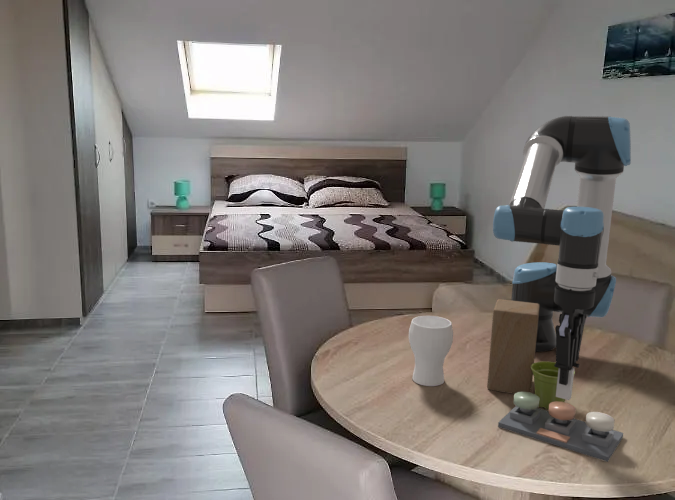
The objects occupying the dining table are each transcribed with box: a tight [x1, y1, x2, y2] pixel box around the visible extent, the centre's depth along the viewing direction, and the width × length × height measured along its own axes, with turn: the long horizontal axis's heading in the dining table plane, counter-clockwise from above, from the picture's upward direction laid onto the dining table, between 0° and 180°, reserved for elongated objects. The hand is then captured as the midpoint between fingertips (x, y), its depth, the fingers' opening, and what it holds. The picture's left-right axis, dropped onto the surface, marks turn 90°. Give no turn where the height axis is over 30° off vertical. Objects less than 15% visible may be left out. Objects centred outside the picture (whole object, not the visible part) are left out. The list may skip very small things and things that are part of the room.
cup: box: [408, 315, 454, 387], centre depth 155 cm, size 11×11×15 cm
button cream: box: [585, 411, 615, 435], centre depth 127 cm, size 5×5×3 cm
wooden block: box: [486, 298, 539, 394], centre depth 152 cm, size 10×10×20 cm
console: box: [497, 405, 624, 462], centre depth 132 cm, size 22×12×2 cm, turn 54°
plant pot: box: [531, 360, 576, 411], centre depth 144 cm, size 9×9×9 cm
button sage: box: [513, 392, 540, 413], centre depth 136 cm, size 5×5×3 cm
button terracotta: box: [547, 401, 577, 423], centre depth 131 cm, size 5×5×3 cm
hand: (563, 397), depth 130 cm, fingers closed
